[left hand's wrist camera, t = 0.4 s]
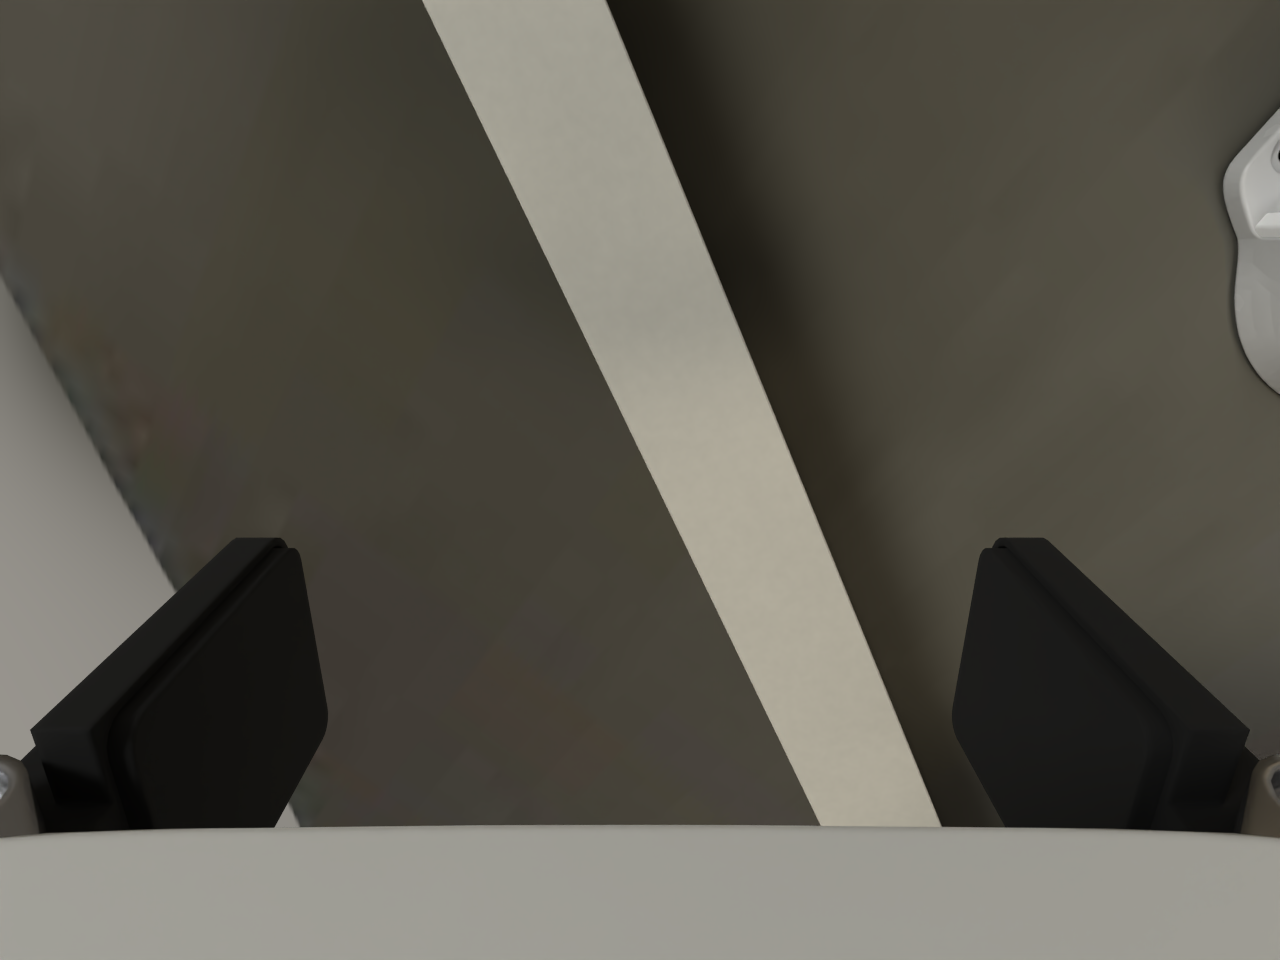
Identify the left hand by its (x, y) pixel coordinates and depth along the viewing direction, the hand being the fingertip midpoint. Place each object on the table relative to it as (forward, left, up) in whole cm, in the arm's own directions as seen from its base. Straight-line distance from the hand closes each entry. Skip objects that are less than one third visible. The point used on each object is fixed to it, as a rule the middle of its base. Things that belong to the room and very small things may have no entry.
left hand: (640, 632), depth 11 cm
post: (+15, +4, -27) cm, 31 cm away
